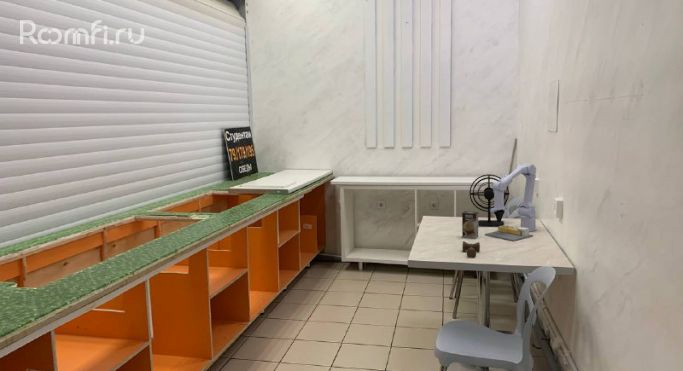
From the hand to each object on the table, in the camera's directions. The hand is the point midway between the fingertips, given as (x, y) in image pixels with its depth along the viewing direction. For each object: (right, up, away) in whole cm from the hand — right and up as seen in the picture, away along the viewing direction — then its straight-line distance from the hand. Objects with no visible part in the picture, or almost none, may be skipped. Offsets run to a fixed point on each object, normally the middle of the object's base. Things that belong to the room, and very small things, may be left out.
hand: (499, 221), depth 319 cm
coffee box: (-18, -10, 0) cm, 21 cm away
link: (+8, -7, +2) cm, 11 cm away
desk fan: (+4, -4, +34) cm, 35 cm away
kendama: (-27, -15, -36) cm, 48 cm away
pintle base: (+6, -9, -1) cm, 11 cm away
